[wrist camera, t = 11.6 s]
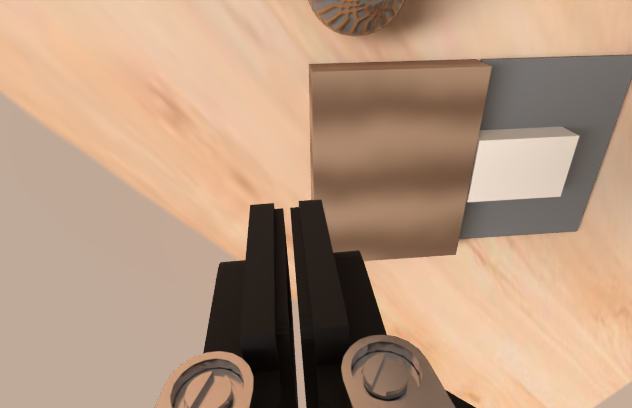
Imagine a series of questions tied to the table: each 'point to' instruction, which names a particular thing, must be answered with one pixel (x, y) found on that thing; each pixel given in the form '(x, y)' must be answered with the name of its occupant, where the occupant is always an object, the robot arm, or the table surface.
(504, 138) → the ivory tile
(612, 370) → the table surface
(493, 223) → the charcoal mat
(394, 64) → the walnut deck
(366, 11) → the vase
